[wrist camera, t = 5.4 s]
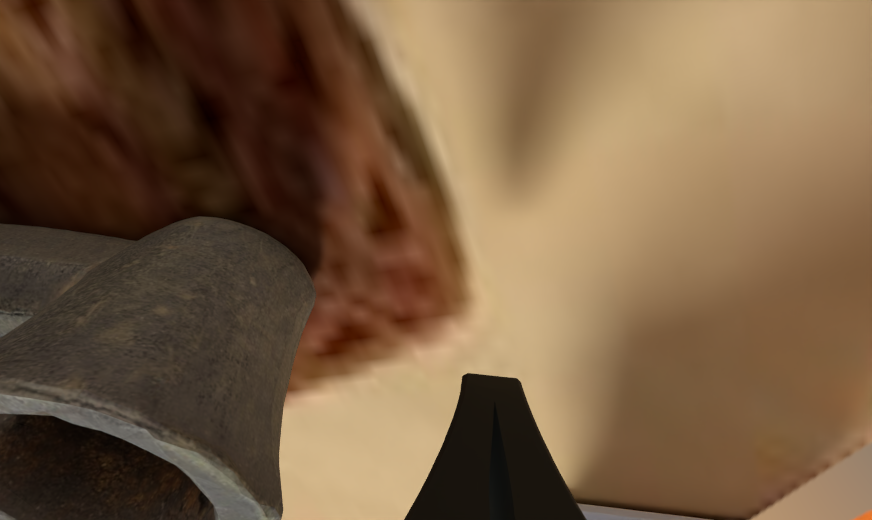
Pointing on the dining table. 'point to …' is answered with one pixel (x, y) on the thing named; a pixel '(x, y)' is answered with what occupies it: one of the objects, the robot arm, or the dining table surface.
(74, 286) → the pipe
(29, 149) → the dining table surface
